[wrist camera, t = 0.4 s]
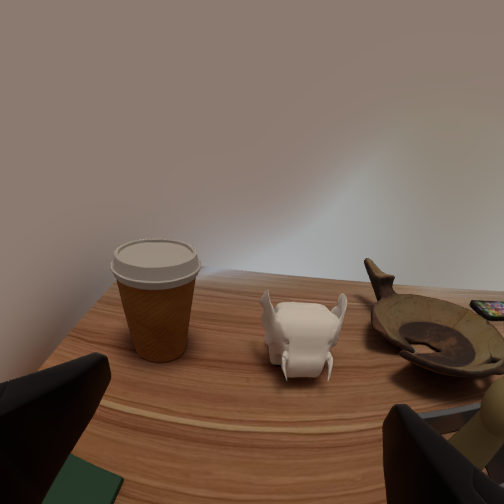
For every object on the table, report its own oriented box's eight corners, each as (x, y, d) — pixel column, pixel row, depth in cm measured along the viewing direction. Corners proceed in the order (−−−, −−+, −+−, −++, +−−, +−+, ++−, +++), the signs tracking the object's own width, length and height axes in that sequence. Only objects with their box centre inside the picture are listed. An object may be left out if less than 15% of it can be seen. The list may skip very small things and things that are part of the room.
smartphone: (469, 299, 48) (505, 301, 48) (467, 303, 49) (504, 305, 48) (487, 316, 41) (522, 316, 40) (485, 320, 41) (520, 320, 41)
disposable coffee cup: (209, 333, 35) (213, 244, 31) (181, 382, 26) (177, 277, 22) (145, 317, 37) (140, 233, 33) (107, 356, 28) (90, 258, 24)
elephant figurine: (256, 398, 26) (268, 327, 23) (252, 331, 37) (260, 270, 34) (345, 396, 26) (372, 329, 23) (321, 334, 37) (336, 275, 35)
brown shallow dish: (409, 427, 21) (444, 373, 19) (334, 295, 49) (343, 255, 47) (515, 387, 23) (541, 343, 20) (427, 297, 51) (438, 263, 48)
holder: (502, 495, 9) (525, 476, 8) (410, 535, 9) (435, 521, 8) (470, 421, 20) (485, 400, 19) (388, 436, 20) (403, 414, 19)
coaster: (88, 563, 6) (85, 562, 6) (-4, 500, 6) (-8, 497, 6) (124, 479, 14) (122, 476, 14) (38, 436, 15) (36, 433, 15)
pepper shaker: (423, 496, 13) (504, 416, 9) (424, 446, 18) (483, 362, 15) (473, 493, 11) (552, 413, 7) (469, 448, 16) (529, 367, 13)
